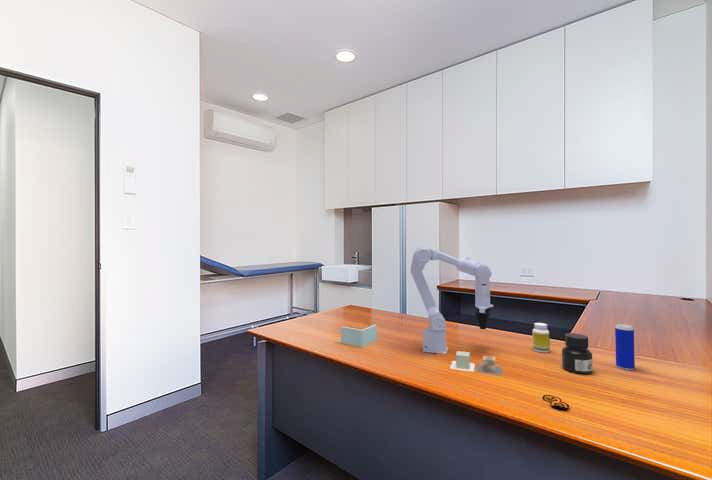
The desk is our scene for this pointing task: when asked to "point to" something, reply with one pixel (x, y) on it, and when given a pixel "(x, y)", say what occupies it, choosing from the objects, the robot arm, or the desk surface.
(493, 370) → the grey cube
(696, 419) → the desk surface
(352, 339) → the right angle wall
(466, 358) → the sage green cube
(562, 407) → the corroded twin loop
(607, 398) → the desk surface
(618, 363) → the beverage can
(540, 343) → the pill bottle
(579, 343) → the ink bottle
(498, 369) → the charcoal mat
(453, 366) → the off-white mat
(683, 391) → the desk surface
